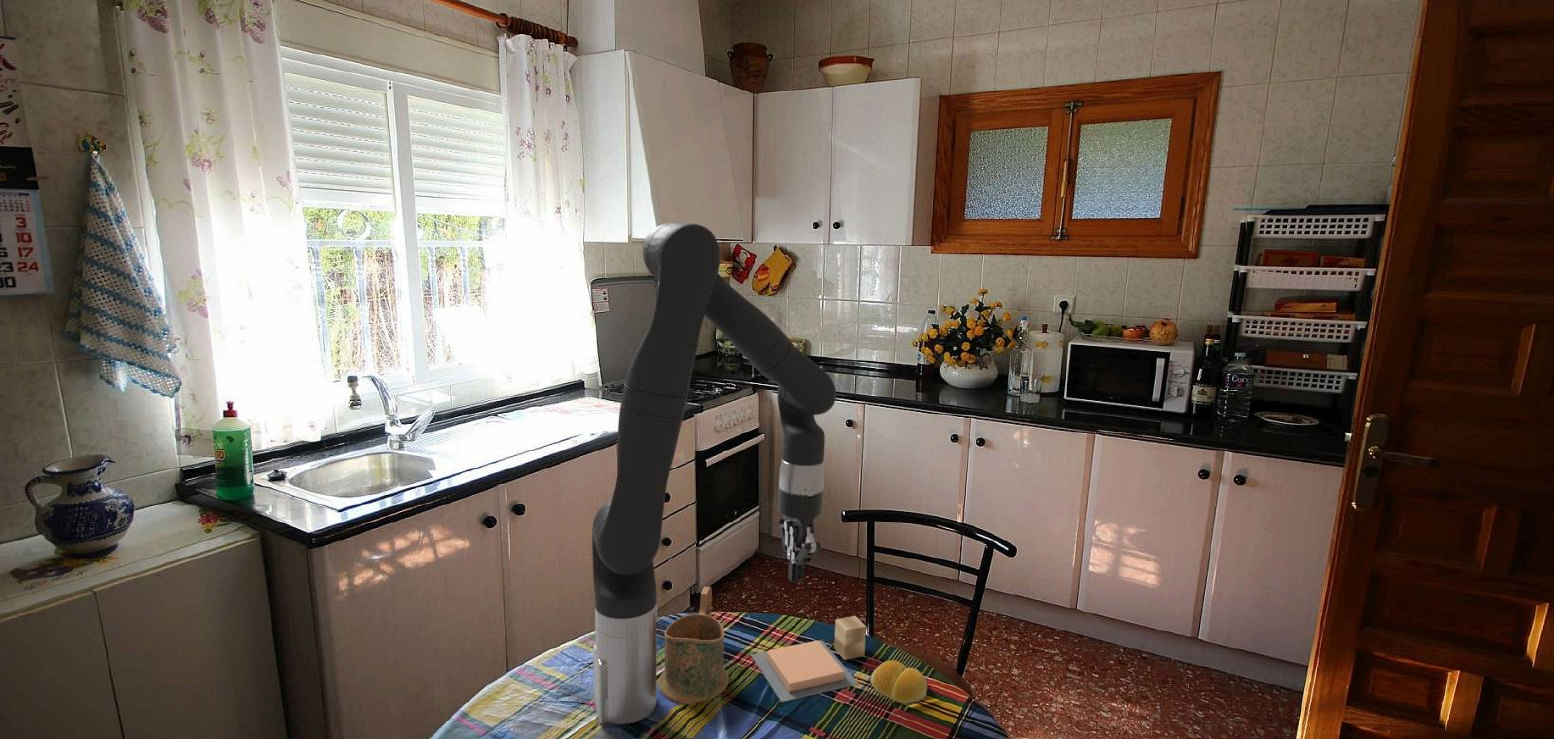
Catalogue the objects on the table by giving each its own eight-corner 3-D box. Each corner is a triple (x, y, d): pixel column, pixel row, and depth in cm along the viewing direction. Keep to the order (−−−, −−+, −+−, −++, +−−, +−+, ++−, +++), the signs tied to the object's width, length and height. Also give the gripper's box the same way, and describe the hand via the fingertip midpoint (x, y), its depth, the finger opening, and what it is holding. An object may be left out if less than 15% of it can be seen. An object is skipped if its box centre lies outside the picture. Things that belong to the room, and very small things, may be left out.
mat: (781, 704, 113) (781, 701, 113) (750, 656, 126) (750, 654, 126) (858, 685, 118) (858, 683, 118) (821, 642, 131) (821, 640, 131)
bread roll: (913, 713, 112) (915, 690, 112) (864, 690, 118) (865, 669, 117) (935, 688, 119) (937, 666, 118) (887, 668, 124) (889, 647, 123)
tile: (766, 659, 124) (789, 693, 115) (766, 650, 124) (789, 683, 115) (817, 649, 128) (843, 680, 119) (818, 640, 128) (844, 671, 119)
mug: (739, 645, 129) (740, 584, 127) (722, 707, 112) (723, 637, 110) (676, 640, 130) (677, 579, 128) (650, 700, 113) (650, 631, 111)
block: (844, 662, 125) (845, 630, 124) (834, 650, 129) (835, 619, 128) (864, 657, 127) (866, 626, 126) (853, 645, 130) (855, 615, 129)
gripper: (766, 475, 125) (761, 567, 128) (797, 500, 113) (791, 602, 116) (804, 471, 128) (799, 562, 131) (839, 496, 116) (832, 595, 119)
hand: (795, 580), depth 123 cm, fingers closed
